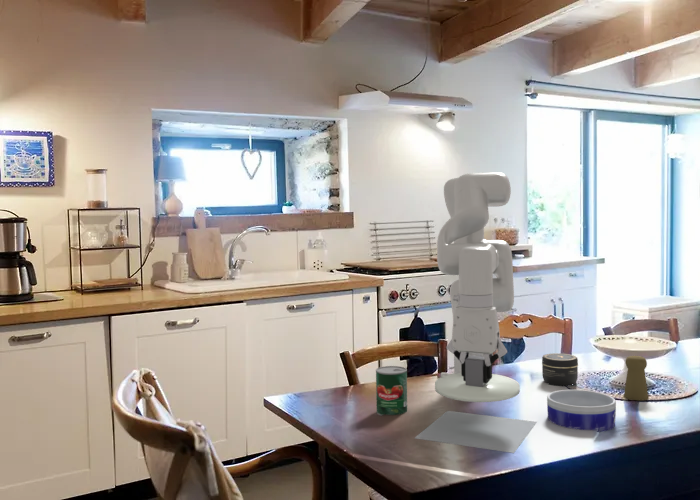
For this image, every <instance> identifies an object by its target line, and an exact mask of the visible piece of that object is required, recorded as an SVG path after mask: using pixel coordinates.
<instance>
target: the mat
mask: <svg viewBox="0 0 700 500" xmlns="http://www.w3.org/2000/svg"><path fill="white" fill-rule="evenodd" d="M537 422H538V421H534V420H533V421H532V420H528V419H527V420H524V419H519V418H518V419H517V418H509V417H500V416H493V415H486V414H476V413H469V412H460V411H453V410H446V411H445V412H443V414H441V416H439V417H438V418H437V419H436V420H434V421H433V422H432V423H431V424H430V425H428V426H427V427H426V428H425V429H423V430H422V431H421V432H420V433H418V434H417V435H416V436H415V437H414V439H417V440H424V441H431V442H436V443H442V444H449V445H451V444H452V445H456V446H463V447H468V448H469V447H470V448H471V447H472V448H477V449H484V450H490V451H498V452H503V453H510V454H515V452H516V451H517V450H518V448H519V447H520V446H521V444H522V443H523V441H524V440H525V439H526V437H528V435H529V434H530V433H531V431H532V429H534V426H535V425H536V424H537Z"/></svg>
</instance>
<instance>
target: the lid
mask: <svg viewBox="0 0 700 500" xmlns="http://www.w3.org/2000/svg"><path fill="white" fill-rule="evenodd" d="M484 366H485V359H484V356H473V355H470V356H469V357H468V358H466V359H465V378H466V381H464V380H463V376H462V374H461V373H457V374H452V373H450V374H451V375H447V376H443V377H441V376H440V377H439V378H437V379H436V380H435V382H434V390H435V392H436V393H437V394H438V395H440V396H443V397H444V398H447V399H450V400H455V401H460V402H461V401H462V402H470V403H492V402H500V401H501V402H502V401H506V400H510V399H513V398H515V397H516V396H518V395H519V394H520V391H521V390H520V389H521V385H520V383H519V382H518V381H517V380H515V379H514V378H511V377H508V376H505V375H501V374H496V373H492V378H491V379H490V381H489V382H488V383H484V382H483V367H484Z"/></svg>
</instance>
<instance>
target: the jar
mask: <svg viewBox="0 0 700 500" xmlns="http://www.w3.org/2000/svg"><path fill="white" fill-rule="evenodd" d="M541 360H542V361H541V365H542V372H541V373H542V375H541V376H542V378H543V381H544V383H545V384H547V385H551V386H554V387H569V386H568V385H571V386H573V385H572V384H574V385H576V383H577V381H578V375H579V374H578V373H579V372H578V370H579V369H578V368H579V361H578V360H579V359H578V357H577V356H576V355H573V354H569V353H561V352H560V353H556V352H555V353H553V352H552V353H546V354H543V355H542V358H541Z"/></svg>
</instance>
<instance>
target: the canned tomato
mask: <svg viewBox="0 0 700 500" xmlns="http://www.w3.org/2000/svg"><path fill="white" fill-rule="evenodd" d="M407 372H408V369H407V368H406V367H404V366H398V365H387V366H379V367H378V368H376V369H375V384H376V385H375V387H376V389H375V390H376V391H375V393H376V395H375V397H376V399H375V400H376V402H375V403H376V411H375V412H376V414H377V415H378V416H381V417H382V416H384V415H386V416H394V415H395V416H396V415H397V416H398V415H403V414H405V413H407V412H408V373H407Z"/></svg>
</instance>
